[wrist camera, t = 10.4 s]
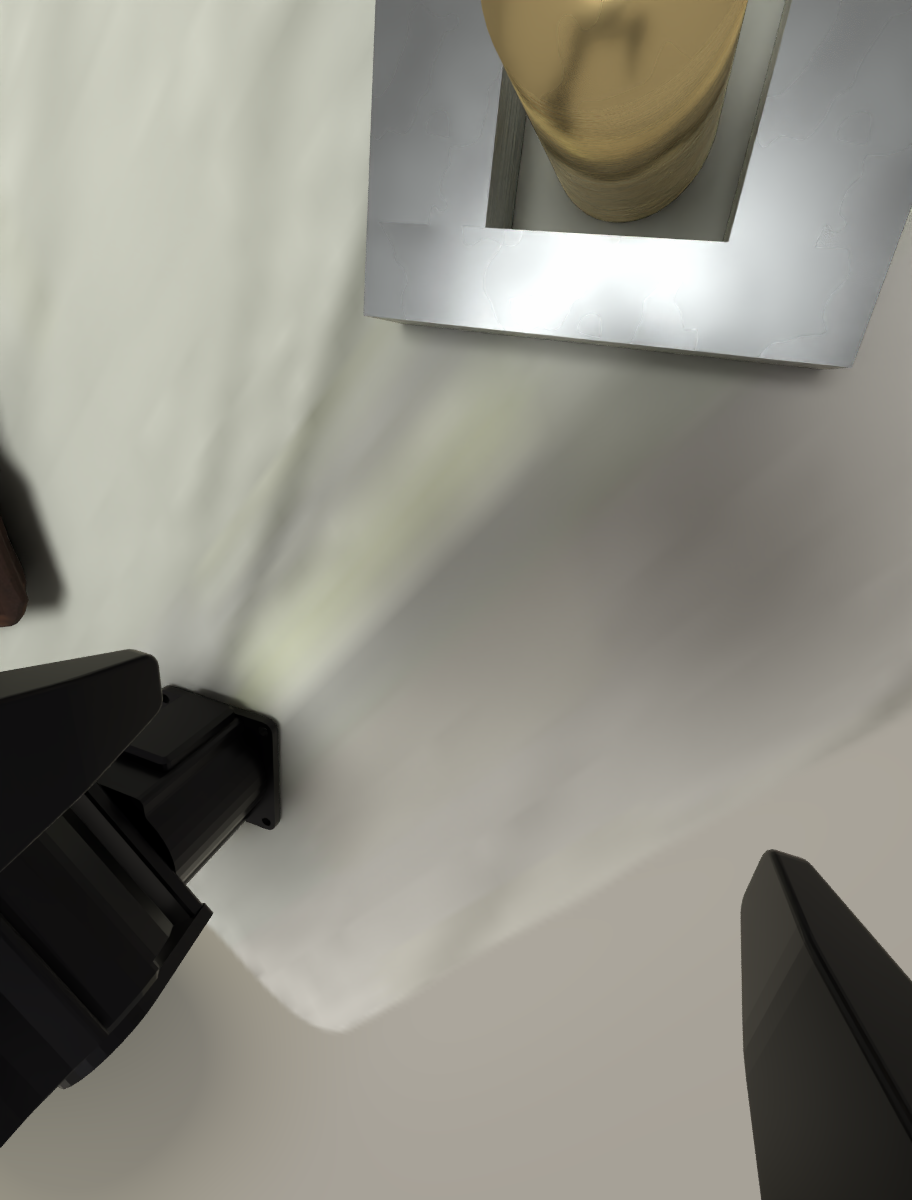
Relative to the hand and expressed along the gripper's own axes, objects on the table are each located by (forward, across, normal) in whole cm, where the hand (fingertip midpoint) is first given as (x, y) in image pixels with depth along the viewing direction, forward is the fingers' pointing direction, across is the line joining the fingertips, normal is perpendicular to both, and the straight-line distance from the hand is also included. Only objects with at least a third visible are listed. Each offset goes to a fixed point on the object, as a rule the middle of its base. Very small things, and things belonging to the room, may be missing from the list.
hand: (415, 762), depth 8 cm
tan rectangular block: (+12, 0, -11) cm, 16 cm away
